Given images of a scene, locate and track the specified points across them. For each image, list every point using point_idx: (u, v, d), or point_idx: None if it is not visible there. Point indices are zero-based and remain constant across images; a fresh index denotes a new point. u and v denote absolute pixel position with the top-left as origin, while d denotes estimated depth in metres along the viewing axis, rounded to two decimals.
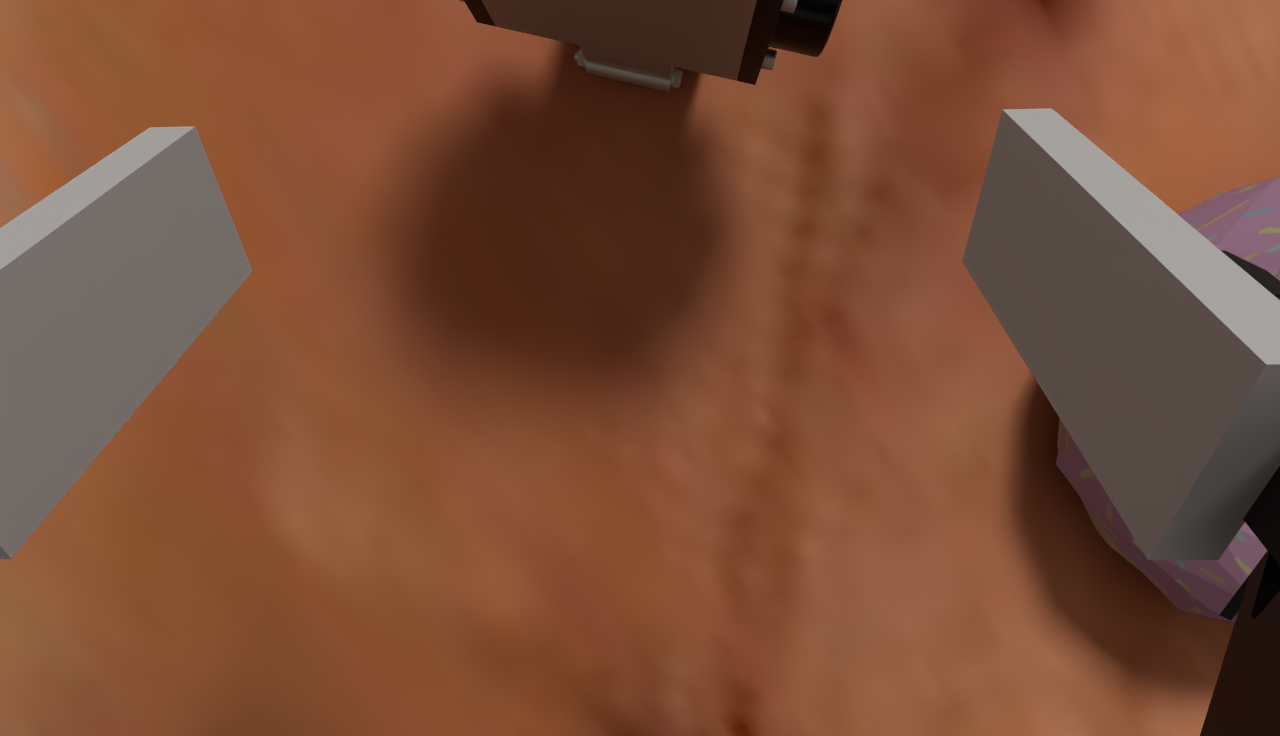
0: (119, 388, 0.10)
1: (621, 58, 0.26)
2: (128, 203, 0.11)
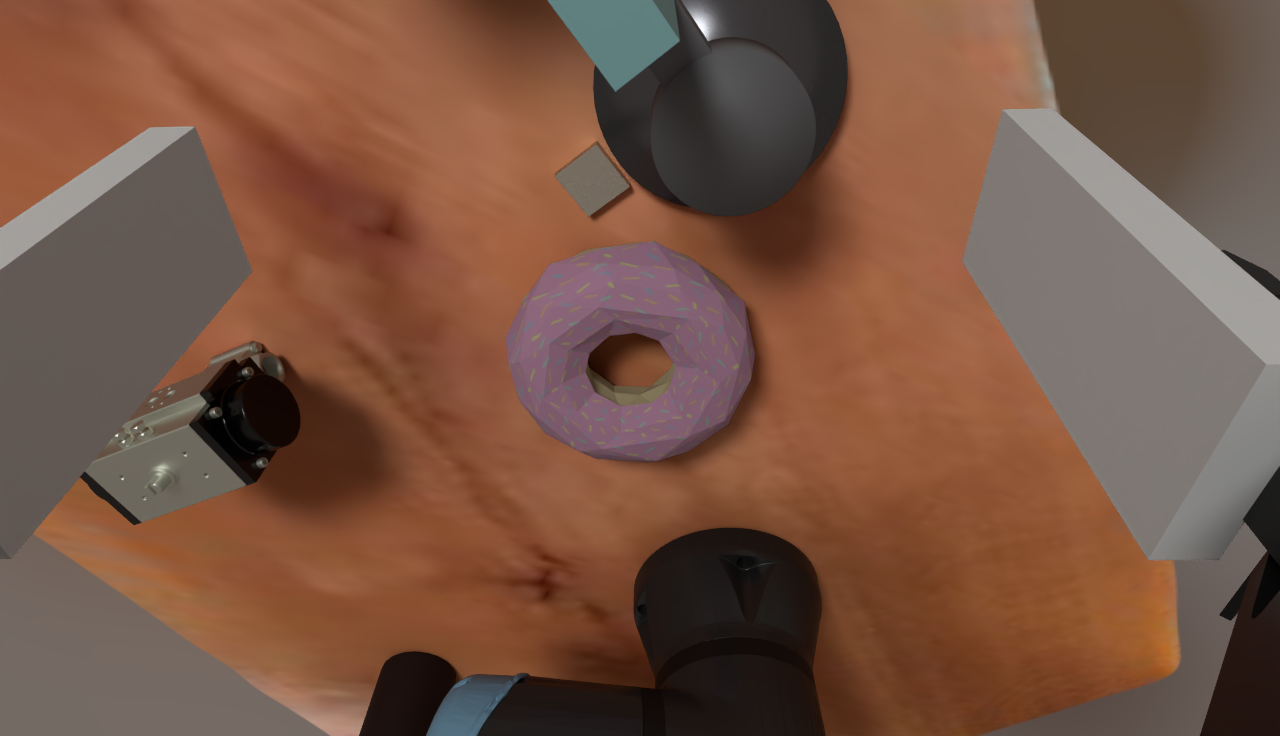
0: (119, 388, 0.10)
1: None
2: (128, 203, 0.11)
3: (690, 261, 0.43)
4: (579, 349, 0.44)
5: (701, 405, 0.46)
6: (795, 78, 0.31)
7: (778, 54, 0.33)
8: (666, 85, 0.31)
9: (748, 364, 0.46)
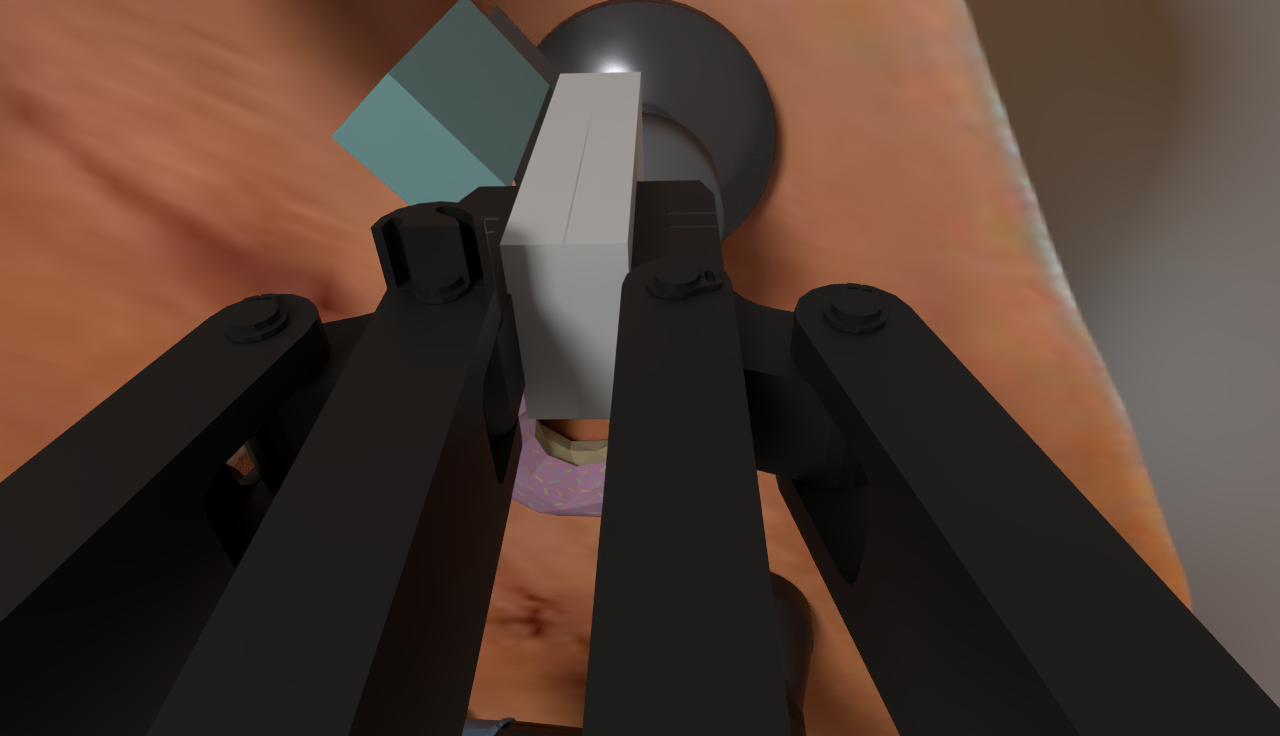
0: None
1: None
2: None
3: None
4: (523, 417, 0.43)
5: None
6: (692, 161, 0.28)
7: (681, 127, 0.30)
8: None
9: None
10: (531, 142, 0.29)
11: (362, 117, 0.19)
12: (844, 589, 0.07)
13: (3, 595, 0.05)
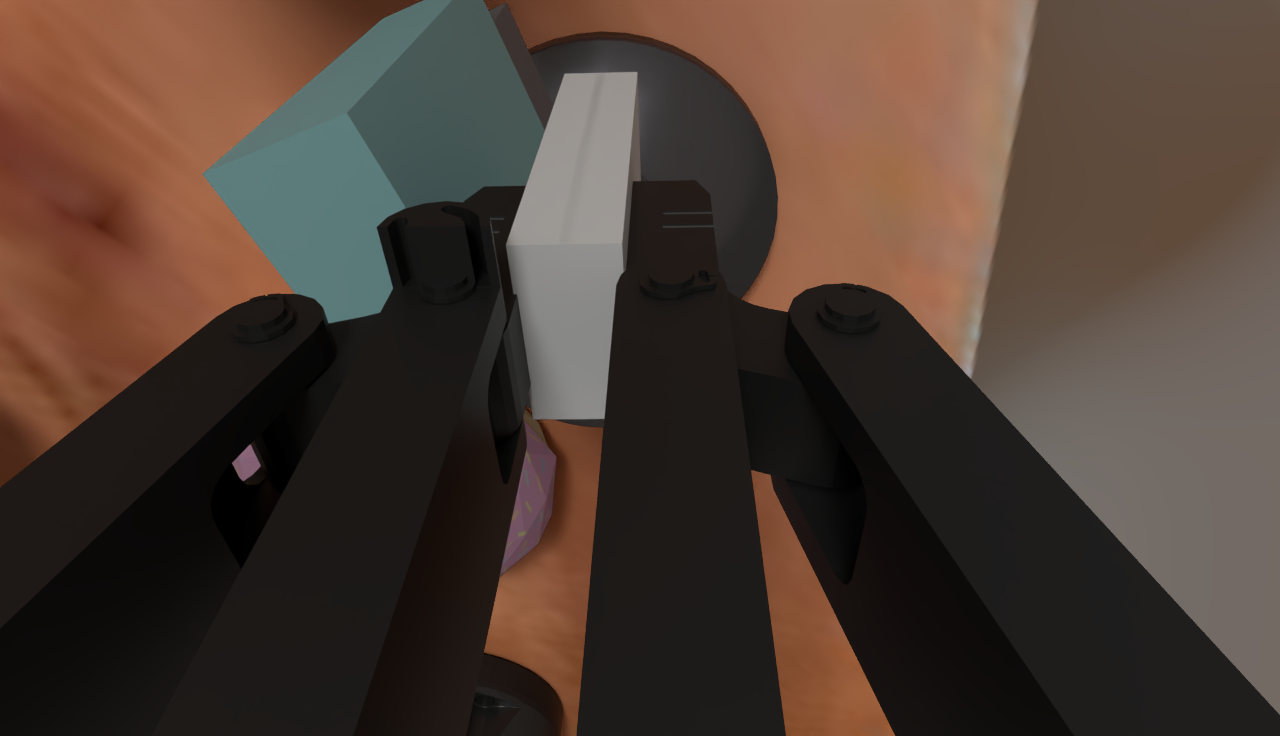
0: None
1: None
2: None
3: None
4: None
5: None
6: None
7: None
8: None
9: (539, 529, 0.37)
10: None
11: (273, 164, 0.10)
12: (839, 588, 0.07)
13: (10, 595, 0.05)
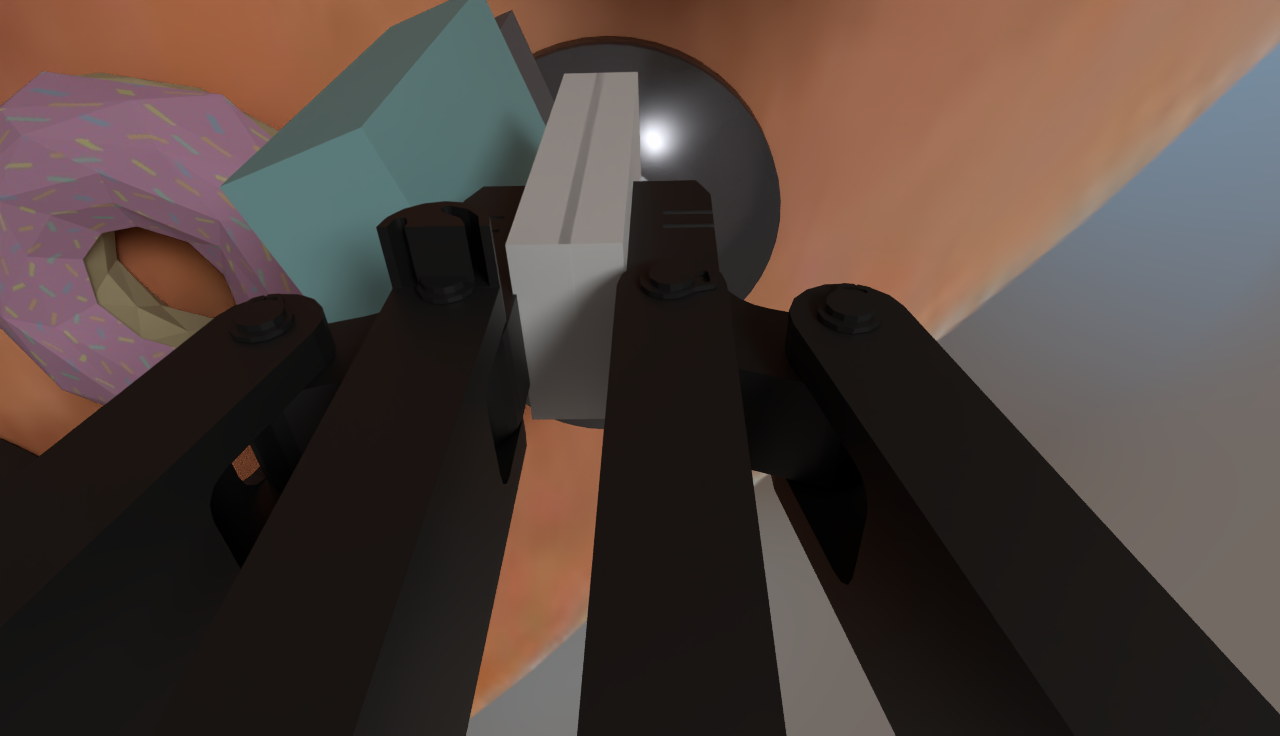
0: None
1: None
2: None
3: None
4: (129, 214, 0.26)
5: None
6: None
7: None
8: None
9: None
10: None
11: (289, 177, 0.11)
12: (840, 588, 0.07)
13: (10, 595, 0.05)
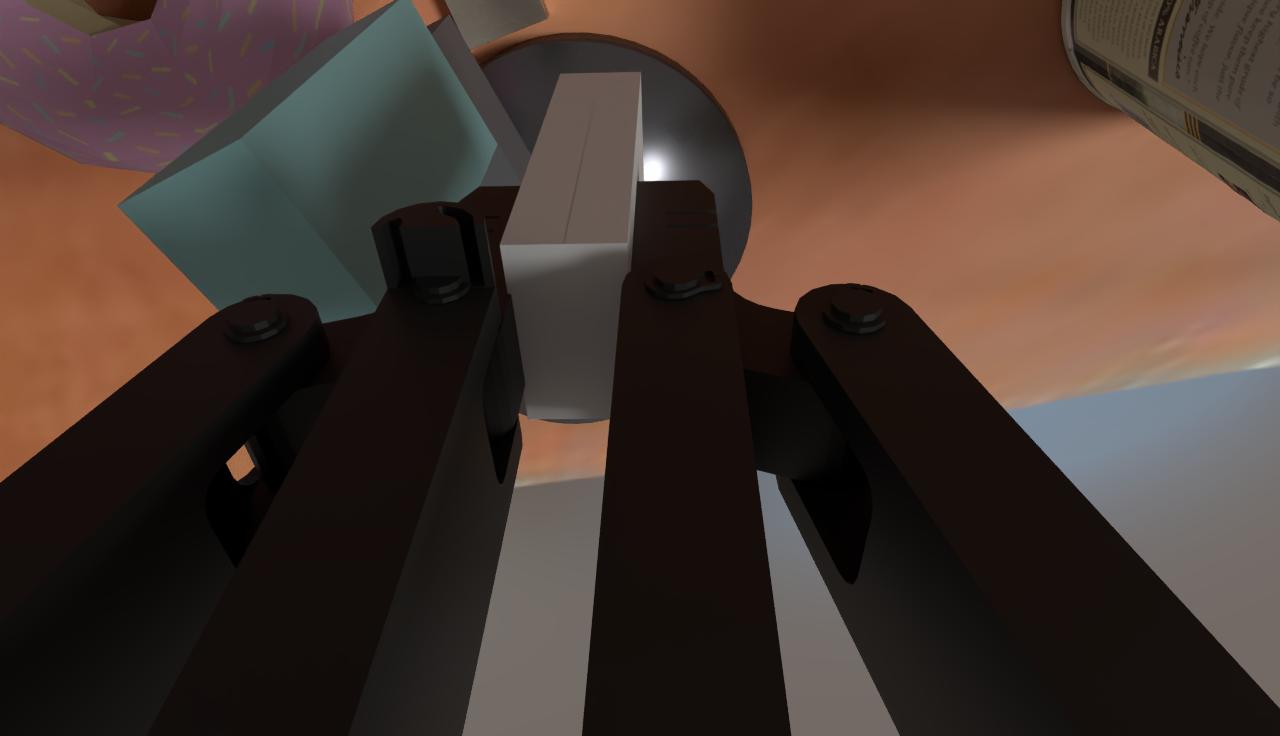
0: None
1: None
2: None
3: None
4: None
5: (3, 76, 0.23)
6: None
7: None
8: None
9: (115, 166, 0.26)
10: None
11: (180, 191, 0.11)
12: (844, 588, 0.07)
13: (4, 593, 0.05)
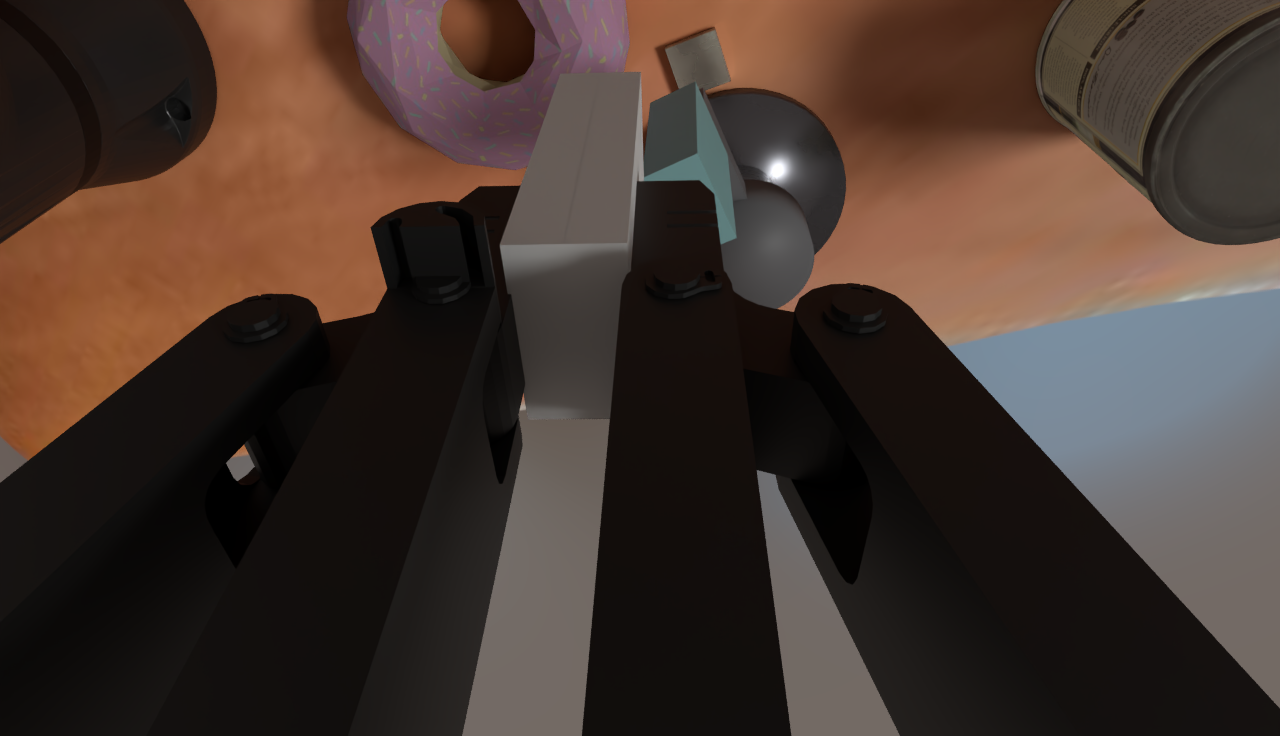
0: None
1: None
2: None
3: None
4: None
5: (439, 114, 0.42)
6: (805, 230, 0.40)
7: (795, 200, 0.42)
8: None
9: (476, 164, 0.45)
10: None
11: (667, 172, 0.30)
12: (844, 588, 0.07)
13: (4, 595, 0.05)
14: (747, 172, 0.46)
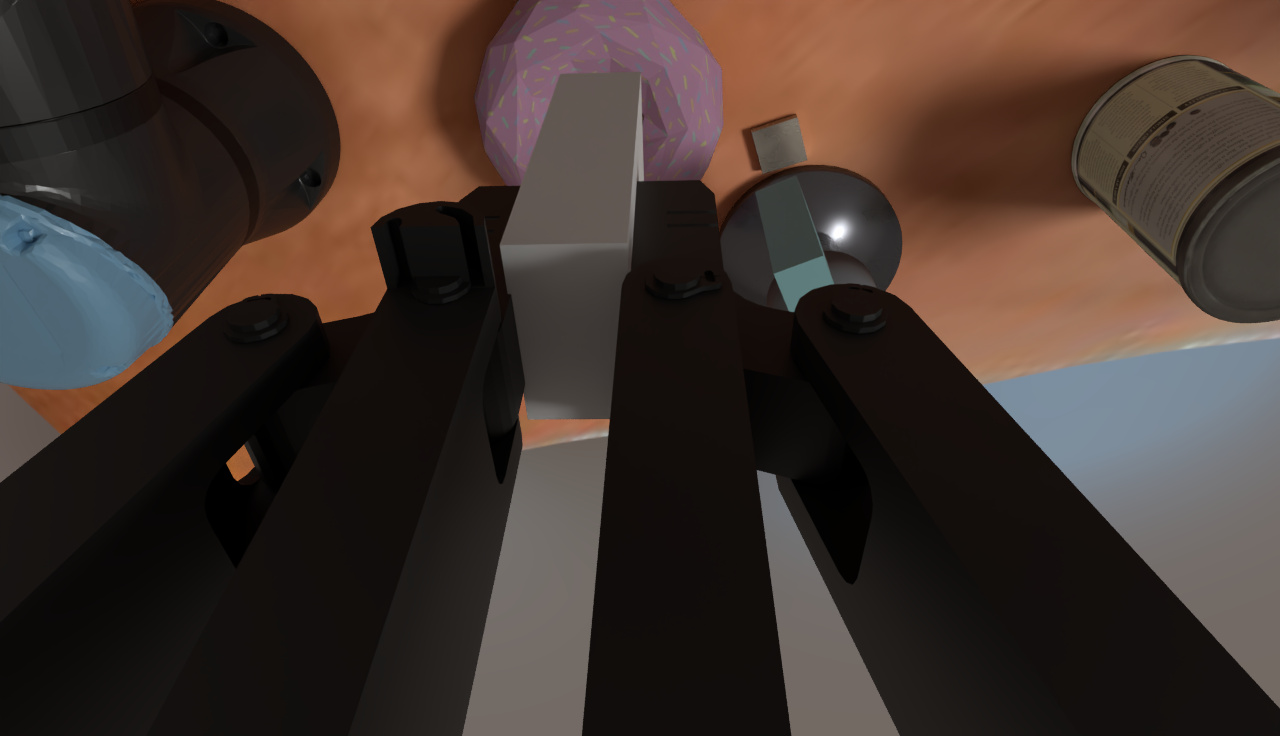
0: None
1: None
2: None
3: None
4: (642, 87, 0.44)
5: None
6: None
7: (866, 269, 0.48)
8: None
9: None
10: None
11: (796, 270, 0.35)
12: (844, 588, 0.07)
13: (4, 593, 0.05)
14: None
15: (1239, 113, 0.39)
